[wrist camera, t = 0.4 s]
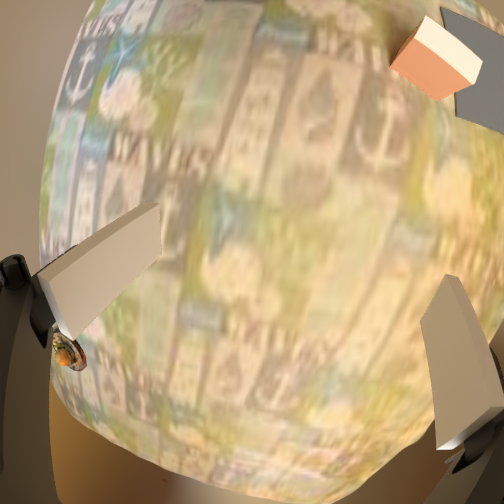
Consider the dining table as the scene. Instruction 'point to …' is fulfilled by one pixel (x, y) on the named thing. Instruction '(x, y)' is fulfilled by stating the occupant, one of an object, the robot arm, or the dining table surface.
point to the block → (436, 61)
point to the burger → (68, 352)
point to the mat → (480, 72)
